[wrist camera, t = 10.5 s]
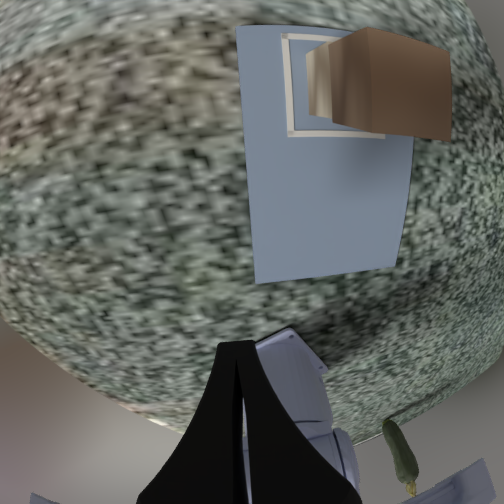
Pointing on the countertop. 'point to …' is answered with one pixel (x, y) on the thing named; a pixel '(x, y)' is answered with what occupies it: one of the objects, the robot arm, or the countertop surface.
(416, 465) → the vegetable
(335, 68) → the walnut block
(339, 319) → the countertop surface
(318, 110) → the maple block
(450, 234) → the countertop surface
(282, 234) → the board
